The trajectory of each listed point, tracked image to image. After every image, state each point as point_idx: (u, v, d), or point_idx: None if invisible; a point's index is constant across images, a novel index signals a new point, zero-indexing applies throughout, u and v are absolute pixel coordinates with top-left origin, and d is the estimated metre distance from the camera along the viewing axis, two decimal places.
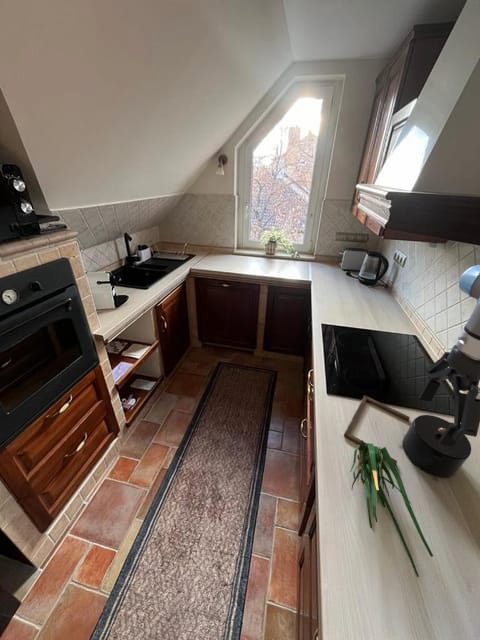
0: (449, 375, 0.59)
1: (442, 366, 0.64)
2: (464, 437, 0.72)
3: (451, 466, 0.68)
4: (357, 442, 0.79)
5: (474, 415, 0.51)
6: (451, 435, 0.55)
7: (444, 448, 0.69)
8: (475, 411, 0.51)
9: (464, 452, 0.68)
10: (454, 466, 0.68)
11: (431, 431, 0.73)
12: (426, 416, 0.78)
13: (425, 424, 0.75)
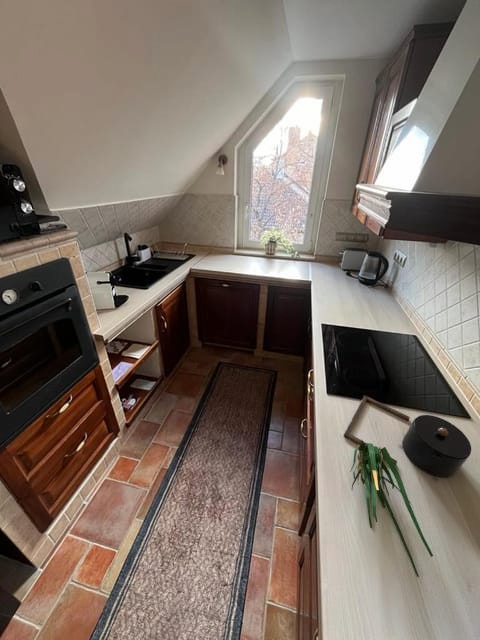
0: None
1: None
2: (464, 437, 0.72)
3: (451, 466, 0.68)
4: (357, 442, 0.79)
5: None
6: None
7: (444, 448, 0.69)
8: None
9: (464, 452, 0.68)
10: (454, 466, 0.68)
11: (431, 431, 0.73)
12: (426, 416, 0.78)
13: (425, 424, 0.75)
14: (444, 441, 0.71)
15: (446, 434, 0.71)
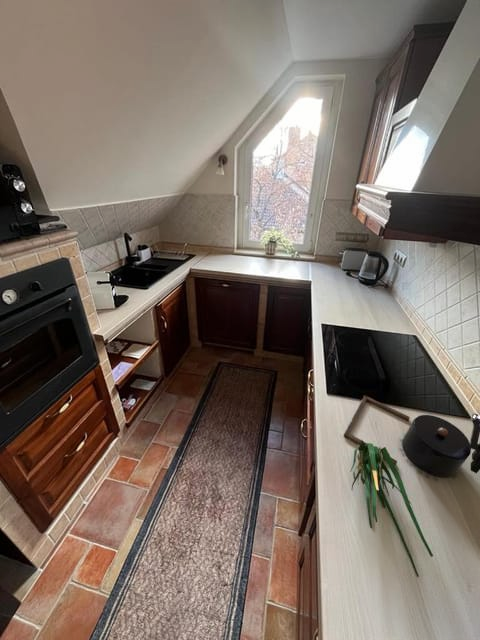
0: None
1: None
2: (464, 437, 0.72)
3: (451, 466, 0.68)
4: (357, 442, 0.79)
5: None
6: None
7: (444, 448, 0.69)
8: None
9: (464, 452, 0.68)
10: (454, 466, 0.68)
11: (431, 431, 0.73)
12: (426, 416, 0.78)
13: (425, 424, 0.75)
14: (444, 441, 0.71)
15: (446, 434, 0.71)
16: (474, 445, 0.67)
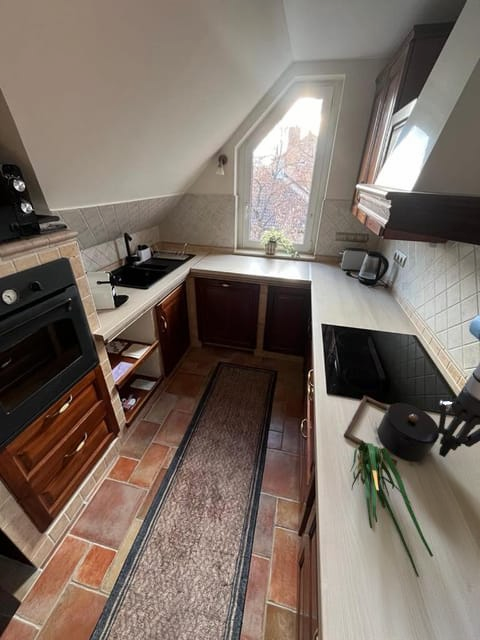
0: (465, 418, 0.66)
1: (445, 417, 0.70)
2: (434, 423, 0.76)
3: (419, 449, 0.72)
4: (357, 442, 0.79)
5: None
6: (452, 448, 0.71)
7: (413, 433, 0.73)
8: None
9: (432, 437, 0.72)
10: (422, 450, 0.72)
11: (403, 417, 0.77)
12: (400, 404, 0.82)
13: (398, 411, 0.79)
14: (414, 426, 0.74)
15: (416, 420, 0.75)
16: (441, 430, 0.71)
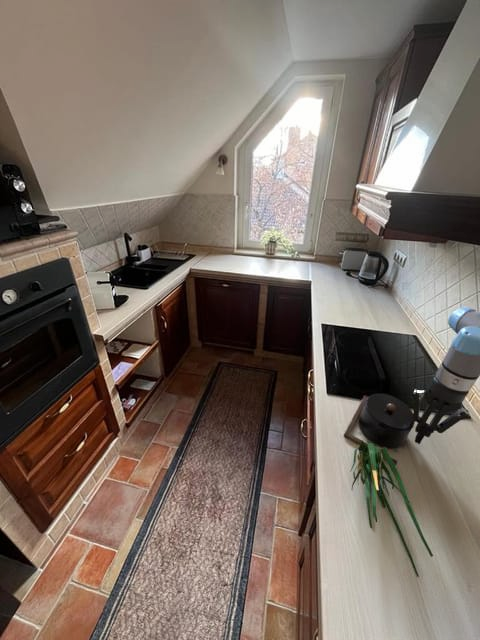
0: (436, 405, 0.69)
1: (419, 405, 0.73)
2: (410, 412, 0.79)
3: (395, 437, 0.76)
4: (357, 442, 0.79)
5: None
6: (426, 435, 0.74)
7: (389, 421, 0.76)
8: None
9: (407, 424, 0.75)
10: (398, 437, 0.76)
11: (381, 407, 0.81)
12: (380, 394, 0.85)
13: (377, 401, 0.83)
14: (391, 415, 0.78)
15: (393, 409, 0.78)
16: (415, 417, 0.74)
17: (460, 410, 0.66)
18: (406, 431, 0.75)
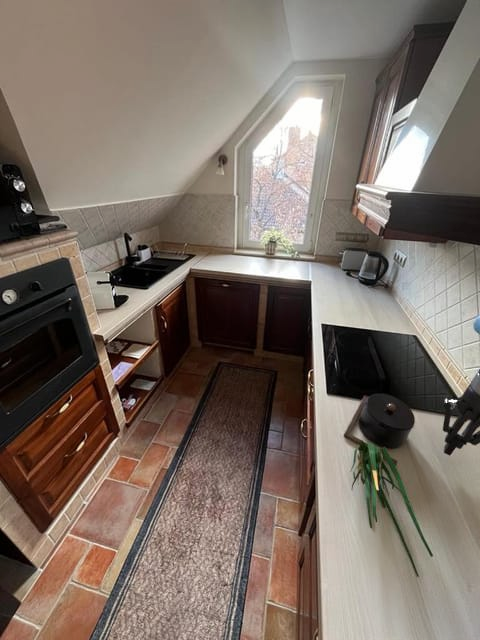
0: (470, 416, 0.65)
1: (450, 415, 0.69)
2: (410, 412, 0.79)
3: (395, 437, 0.76)
4: (357, 442, 0.79)
5: None
6: (458, 446, 0.70)
7: (389, 421, 0.76)
8: None
9: (407, 424, 0.75)
10: (398, 437, 0.76)
11: (381, 407, 0.81)
12: (380, 394, 0.85)
13: (377, 401, 0.83)
14: (391, 415, 0.78)
15: (393, 409, 0.78)
16: (446, 428, 0.70)
17: None
18: (406, 431, 0.75)
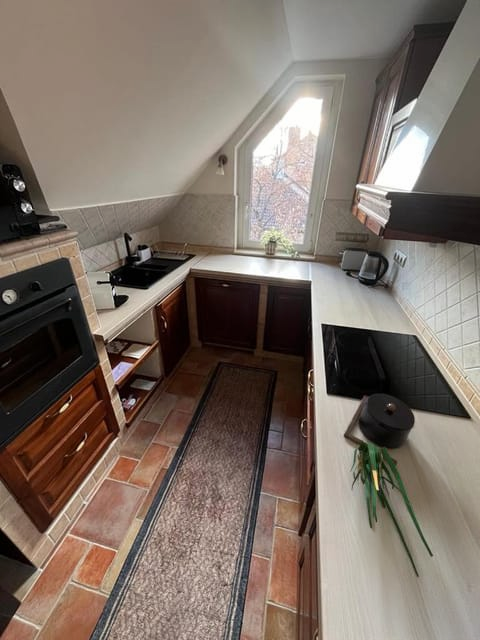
0: None
1: None
2: (410, 412, 0.79)
3: (395, 437, 0.76)
4: (357, 442, 0.79)
5: None
6: None
7: (389, 421, 0.76)
8: None
9: (407, 424, 0.75)
10: (398, 437, 0.76)
11: (381, 407, 0.81)
12: (380, 394, 0.85)
13: (377, 401, 0.83)
14: (391, 415, 0.78)
15: (393, 409, 0.78)
16: None
17: None
18: (406, 431, 0.75)
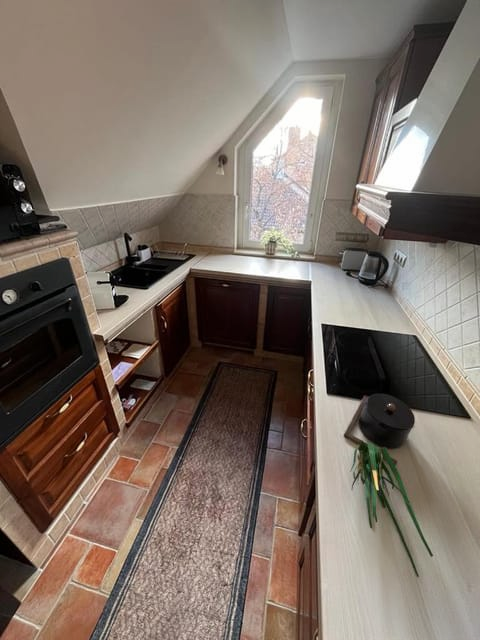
0: None
1: None
2: (410, 412, 0.79)
3: (395, 437, 0.76)
4: (357, 442, 0.79)
5: None
6: None
7: (389, 421, 0.76)
8: None
9: (407, 424, 0.75)
10: (398, 437, 0.76)
11: (381, 407, 0.81)
12: (380, 394, 0.85)
13: (377, 401, 0.83)
14: (391, 415, 0.78)
15: (393, 409, 0.78)
16: None
17: None
18: (406, 431, 0.75)
